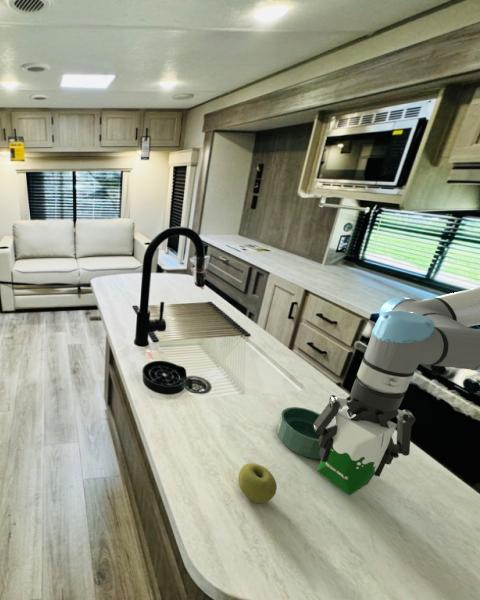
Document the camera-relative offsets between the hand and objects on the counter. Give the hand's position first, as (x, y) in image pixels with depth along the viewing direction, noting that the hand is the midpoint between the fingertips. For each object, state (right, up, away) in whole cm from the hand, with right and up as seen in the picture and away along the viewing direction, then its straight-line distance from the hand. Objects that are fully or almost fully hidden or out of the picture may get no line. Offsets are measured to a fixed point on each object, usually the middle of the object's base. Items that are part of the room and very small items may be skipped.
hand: (347, 464), depth 72 cm
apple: (-21, -8, +1) cm, 23 cm away
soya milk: (0, -4, +2) cm, 5 cm away
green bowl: (+1, -2, +16) cm, 16 cm away
